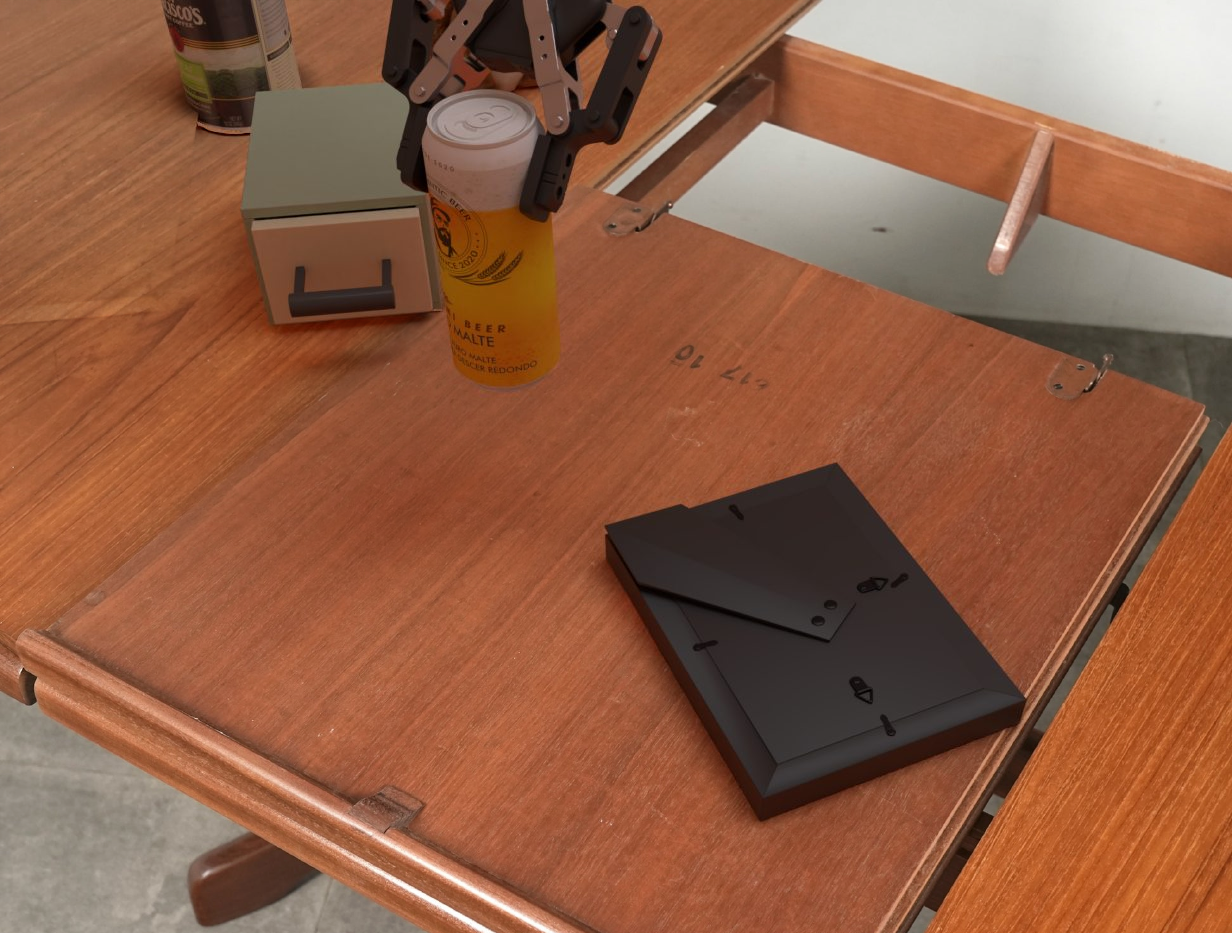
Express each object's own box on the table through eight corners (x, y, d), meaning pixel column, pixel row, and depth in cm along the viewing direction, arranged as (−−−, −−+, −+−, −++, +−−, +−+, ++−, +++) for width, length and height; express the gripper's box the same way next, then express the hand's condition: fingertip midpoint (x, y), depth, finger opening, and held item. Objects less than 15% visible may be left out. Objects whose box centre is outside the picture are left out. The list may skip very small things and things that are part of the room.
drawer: (434, 353, 96) (420, 257, 90) (270, 367, 95) (245, 272, 90) (428, 197, 110) (415, 105, 104) (285, 208, 109) (264, 117, 103)
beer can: (433, 362, 78) (394, 114, 66) (518, 318, 80) (494, 72, 69) (497, 413, 75) (467, 163, 63) (583, 366, 77) (569, 117, 66)
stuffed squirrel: (478, 126, 119) (462, -29, 109) (396, 66, 127) (374, -83, 117) (572, 90, 123) (565, -62, 113) (487, 34, 131) (473, -113, 121)
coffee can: (228, 149, 117) (186, -18, 107) (168, 106, 123) (122, -57, 112) (329, 107, 122) (298, -57, 111) (267, 67, 127) (232, -93, 117)
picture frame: (605, 558, 84) (760, 821, 71) (604, 525, 81) (763, 790, 68) (833, 486, 87) (1019, 723, 74) (837, 452, 85) (1030, 691, 72)
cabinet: (442, 311, 101) (425, 194, 94) (269, 326, 100) (240, 209, 93) (436, 191, 112) (421, 78, 105) (281, 204, 111) (255, 91, 104)
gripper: (404, -202, 65) (311, 150, 67) (683, -161, 60) (575, 214, 62) (471, -123, 72) (385, 193, 74) (725, -81, 67) (627, 254, 69)
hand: (473, 201), depth 68 cm, fingers closed on beer can, 6 cm apart
